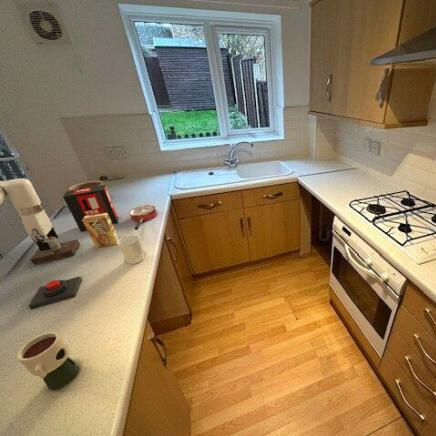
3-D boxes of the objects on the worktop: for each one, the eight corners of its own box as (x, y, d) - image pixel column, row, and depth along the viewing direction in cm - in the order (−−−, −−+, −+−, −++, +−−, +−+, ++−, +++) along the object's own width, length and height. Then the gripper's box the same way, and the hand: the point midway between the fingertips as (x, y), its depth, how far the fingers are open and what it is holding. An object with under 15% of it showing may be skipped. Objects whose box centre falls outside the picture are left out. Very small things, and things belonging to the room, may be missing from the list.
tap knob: (59, 249, 106) (54, 239, 103) (47, 252, 104) (40, 242, 101) (62, 245, 109) (57, 235, 107) (50, 247, 107) (44, 237, 105)
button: (45, 292, 83) (43, 288, 82) (49, 285, 86) (47, 281, 85) (59, 288, 84) (56, 285, 84) (62, 282, 87) (60, 278, 86)
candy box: (119, 240, 118) (107, 212, 110) (117, 244, 114) (105, 216, 107) (98, 243, 115) (84, 215, 108) (95, 248, 112) (81, 219, 104)
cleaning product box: (117, 217, 140) (104, 184, 130) (118, 223, 133) (104, 189, 124) (82, 225, 132) (65, 191, 122) (81, 232, 125) (63, 196, 116)
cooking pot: (83, 198, 167) (76, 181, 161) (115, 193, 173) (108, 177, 167) (69, 212, 146) (59, 194, 140) (105, 207, 152) (97, 189, 146)
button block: (31, 309, 80) (25, 302, 79) (42, 290, 88) (37, 283, 87) (75, 297, 85) (70, 289, 83) (82, 279, 93) (78, 272, 91)
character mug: (79, 388, 58) (53, 356, 52) (40, 407, 55) (8, 375, 49) (84, 352, 66) (62, 321, 60) (51, 367, 63) (24, 334, 57)
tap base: (33, 265, 101) (29, 259, 100) (42, 252, 109) (38, 247, 108) (74, 255, 107) (71, 250, 105) (80, 244, 115) (77, 239, 113)
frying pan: (160, 233, 122) (156, 222, 119) (130, 240, 117) (126, 229, 114) (156, 210, 147) (153, 200, 144) (132, 215, 142) (128, 205, 139)
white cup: (150, 256, 105) (143, 237, 100) (132, 267, 99) (123, 247, 94) (139, 251, 109) (132, 233, 104) (121, 261, 103) (113, 241, 98)
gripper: (27, 203, 103) (46, 237, 110) (7, 219, 89) (30, 257, 97) (50, 200, 106) (66, 233, 113) (34, 215, 92) (54, 252, 100)
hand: (50, 244), depth 105 cm, fingers open, 9 cm apart
